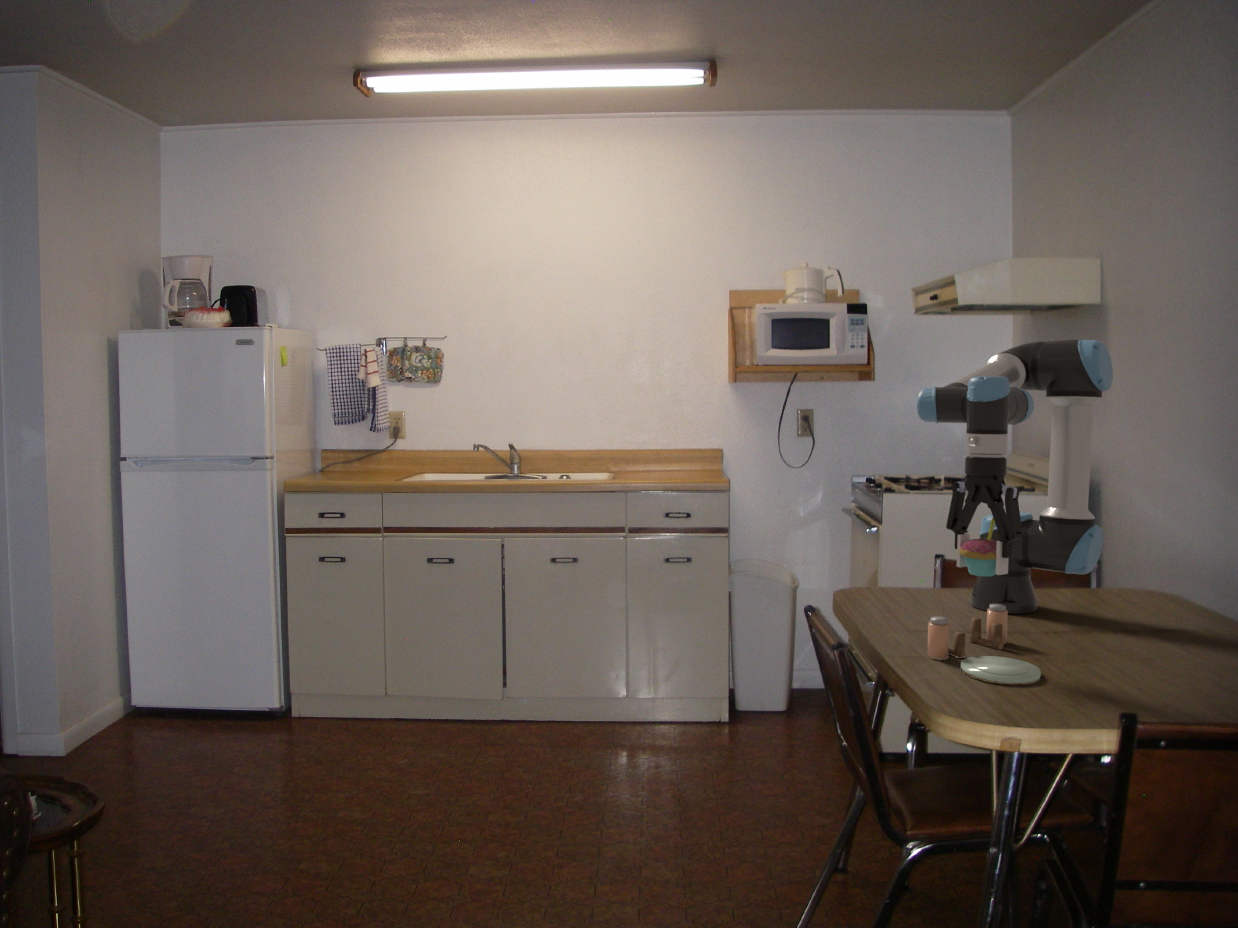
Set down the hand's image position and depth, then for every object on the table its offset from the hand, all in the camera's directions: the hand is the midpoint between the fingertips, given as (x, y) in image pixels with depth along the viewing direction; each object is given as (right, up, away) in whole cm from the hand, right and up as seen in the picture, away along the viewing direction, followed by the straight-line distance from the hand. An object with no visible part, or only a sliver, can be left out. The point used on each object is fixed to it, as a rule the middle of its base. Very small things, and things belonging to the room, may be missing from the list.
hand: (981, 570), depth 178 cm
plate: (+1, -19, -6) cm, 20 cm away
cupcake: (0, -1, 0) cm, 1 cm away
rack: (+1, -18, +9) cm, 20 cm away
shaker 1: (-7, -18, +4) cm, 20 cm away
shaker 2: (+9, -17, +14) cm, 24 cm away
